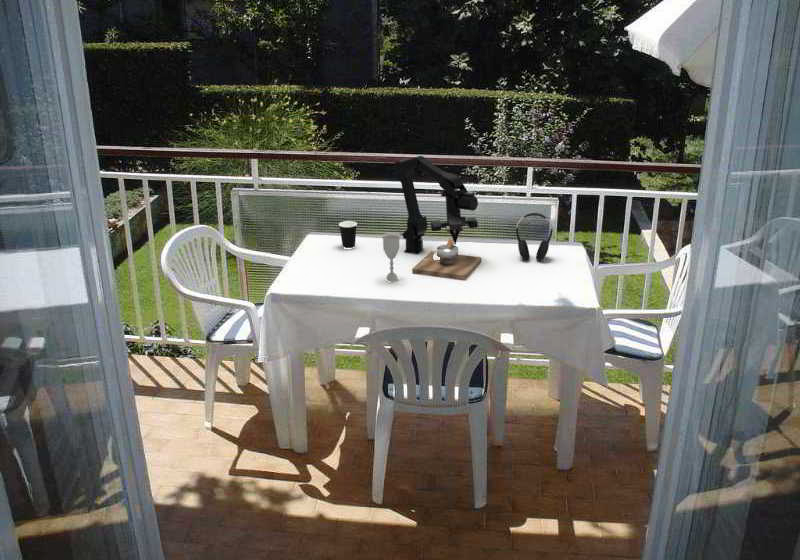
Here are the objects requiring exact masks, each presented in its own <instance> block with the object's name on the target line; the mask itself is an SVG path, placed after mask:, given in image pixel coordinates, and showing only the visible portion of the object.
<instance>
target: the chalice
mask: <svg viewBox="0 0 800 560" xmlns="http://www.w3.org/2000/svg"><path fill="white" fill-rule="evenodd" d="M381 237H382V240H383V241H382V244H383V247H382V248H383V251H384V254H385V255H386V257H387V259H389V260H390V261H389V265H390V266H389V269H390V271H389V273H387V275H386V278H385V279H387V280H388V281H396V280H398V281H399V278H398V275H397V273H395V272H394V269H395V267H394V264H395V263H394V259H396V257H397V255H398V252H399V250H400V238H401V234H400V233H397V232H386V233H383V234H381ZM388 281H387V282H388ZM396 282H397V281H396Z"/></svg>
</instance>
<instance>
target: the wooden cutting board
mask: <svg viewBox="0 0 800 560" xmlns="http://www.w3.org/2000/svg"><path fill="white" fill-rule="evenodd" d="M435 252H436V251H433V250H430V252H429V253H427V254H426V255H425V256H424V257H423V258H422V259H421V260H420V261H419V262H417V264H416V265H415V266H414V267H412V270H411V272H412V274H415V275H423V276H429V277H437V278H445V279H450V280H451V279H452V280H458V281H459V280H460V281H466V280H467V279H468V278H469V277H470V276H471V275H472V273H474V271H475V270H476V268H478V267H479V265H481V263H482V262H483V261H482V259H483V258H482V256H481V257H480V256H473V255H465V254H460V253H458V256H457V257H456V258H452V259H444V258H440V260H434V259H433V255H434V253H435Z"/></svg>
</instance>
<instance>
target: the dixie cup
mask: <svg viewBox="0 0 800 560" xmlns="http://www.w3.org/2000/svg"><path fill="white" fill-rule="evenodd" d="M357 225H358V223H357V222H356V221H353V220H352V221H351V220H347V221H341V222H339V223H338V226H339V231H340V236H341V237H340V238H341V244H342V247H345V248H353V247H354V248H355V247H356V237H357Z"/></svg>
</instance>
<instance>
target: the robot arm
mask: <svg viewBox="0 0 800 560" xmlns="http://www.w3.org/2000/svg"><path fill="white" fill-rule="evenodd" d="M415 168H416V169H418V170H420V171H421V172H423V173H424V174H426V175H428V176H429V177H430V178H432V179H433V180H435V181H436V182H437V183H438V184H439V187H440V188H441V189H442V190H443V193H441V194H440V197H445V210H446V222H441V220H440V219H438V220H431V222H430V229H431V230H430V231H431V232H438V231H439V232H440V231H441V230H442V228H445V230H446V232H449V234H450V235H451V239H453V240H454V246H456V245H457V241H458V237H459V234H460V233H461V231H463V230H464V227H466V226H468V228H470V229H477V228H478V227H479V226H478V225H479V224H478V222H479V221H478V219H477V218H476V217H466V216H462V215H461V210H465V211H472V212H474V211H476V210H477V208H478V206H479V204H478V203H479V200H478V198H477V196H475V194H476V193H475V192H468V190H467V188H466V186H465V184H464V183H463V181H462V178H461V177H460V176H459V175H457V174H455V173H452V172H446V171H444V170H443V169H442V168H439V166H437V165H435V164H433V163H432V162H431V161H429V160H428V159H426V158H425V157H424V156H422V155H417V156H415V157H413V158H410V159H409V158H405V159H401V160H398V161H395V162H394V164H393V171H394V172H393V173H394V174H395V177H396V179H397V180H398V181H399V182H400V184H401V188H402V192H403V196H404V197H403V198H404V202H405V205H406V211H407V215H408V217H407V220H406V227H407V228H406V229H405V230H404V232H402V233H401V234H402V238H403V239H404V240H405V250H404V253H409V254H420V253H421V252H423V250H424V240H423V236H425V235H426V234H425V233H426V232H427V230H428V226H429V223H428V220H427V215H422V213H421V211H420V207H419V203H418V199H417V198H418V197H417V194H416V190H415V185H414V175H415Z"/></svg>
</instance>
